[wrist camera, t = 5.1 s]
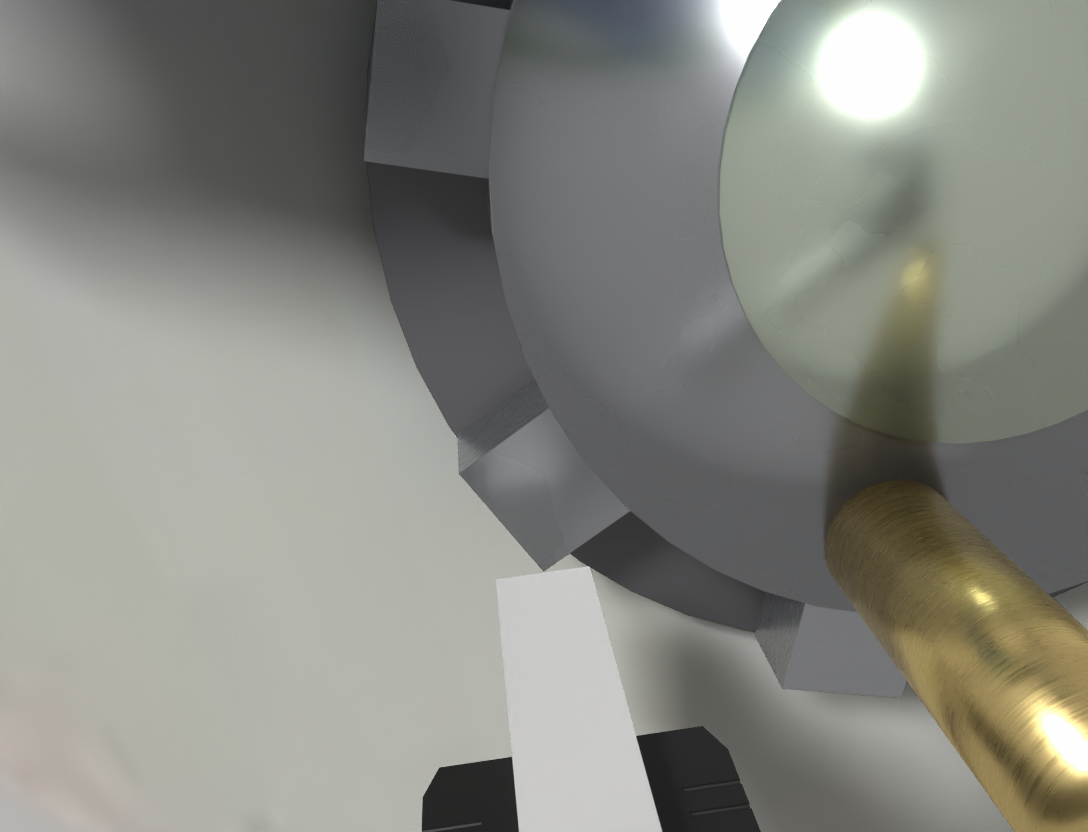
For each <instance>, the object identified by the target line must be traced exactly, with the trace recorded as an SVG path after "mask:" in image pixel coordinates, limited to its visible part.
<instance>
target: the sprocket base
mask: <svg viewBox="0 0 1088 832" xmlns="http://www.w3.org/2000/svg"><path fill="white" fill-rule="evenodd" d="M451 1H457V2H463V3H469V4H475V5H481V6H488V7H494V8H500V9H506V7H507V4H508V1H509V0H451ZM375 24H376V19H375ZM374 35H375V25H374V32H373V38H372V45H371V52H370V58H369V65H368V76H367V114H368V103H369V91H370V80H371V69H372V57H373V46H374ZM366 125H367V118H366ZM367 169H368V178H369V188H370V197H371V207H372V216H373V226H374V232H375V236H376V240H377V244H378V248H379V253H380V257H381V261H382V265H383V269H384V273H385V278H386V282H387V286H388V290H389V294H390V299H391V302H392V305H393V307H394V310H395V312H396V315H397V318H398V320H399V323H400V325H401V328H402V331H403V333H404V336H405V338H406V341H407V344H408V346H409V349H410V351H411V354H412V357H413V359H414V362H415V364H416V367H417V369H418V371H419V372H420V374H421V376H422V378H423V380H424V381H425V383H426V385H427V387H428V389H429V391H430V392H431V394H432V396H433V398H434V400H435V402H436V403H437V405H438V407H439V409H440V411H441V412H442V414H443V416H444V418H445V420H446V422H447V423H448V425H449V427H450V428H451V430H452V431H453V432H454V434H455V435H456V436H457V438H458V434H459V433H460V432H462V431H463V430H464V429H466V428H467V427H468V426H470V425H471V424H473V423H474V422H475V421H477V420H478V419H479V418H481V417H482V416H483V415H485V414H486V413H488V412H489V411H490V410H492V409H493V408H494V407H496V406H497V405H498V404H500V403H501V402H503V401H504V400H505V399H507V398H508V397H509V396H511V395H512V394H513V393H515V392H516V391H518V390H519V389H520V388H522V387H523V386H524V385H526V384H527V383H528V382H530V381H531V380H533V379H534V376H533V374H532V372H531V370H530V368H529V366H528V364H527V362H526V359H525V356H524V353H523V350H522V347H521V344H520V341H519V338H518V335H517V333H516V330H515V327H514V324H513V321H512V318H511V315H510V312H509V309H508V306H507V303H506V299H505V294H504V290H503V286H502V282H501V277H500V272H499V267H498V262H497V257H496V252H495V247H494V242H493V237H492V232H491V227H490V222H489V216H488V201H487V186H486V178H480V177H473V176H466V175H459V174H452V173H445V172H438V171H431V170H424V169H416V168H409V167H402V166H395V165H388V164H381V163H374V162H367ZM570 554H571V555H573V556H574V557H575V558H577V559H578V560H579V561H580V562H582V563H584V564H586V565H587V566H590V567H591V568H592V569H594V570H596V571H598V572H599V573H601V574H603V575H604V576H606V577H608V578H610V579H611V580H613V581H615V582H616V583H618V584H620V585H622V586H623V587H625V588H627V589H628V590H630V591H632V592H634V593H637V594H639V595H641V596H644V597H646V598H648V599H651V600H653V601H656V602H658V603H660V604H663V605H665V606H668V607H670V608H672V609H675V610H677V611H680V612H682V613H684V614H687V615H690V616H694V617H698V618H701V619H705V620H708V621H712V622H716V623H719V624H723V625H727V626H730V627H734V628H738V629H741V630H746V631H753V632H756V631H757V627H758V623H759V619H760V615H761V611H762V608H763V604H764V600H765V596H766V592H764V591H762V590H759V589H757V588H755V587H753V586H750V585H748V584H746V583H743V582H741V581H739V580H736V579H734V578H732V577H730V576H727V575H725V574H723V573H720V572H718V571H716V570H714V569H712V568H711V567H709V566H707V565H706V564H704V563H702V562H701V561H699V560H697V559H696V558H694V557H692V556H691V555H689V554H687V553H686V552H684V551H683V550H681V549H679V548H678V547H676V546H674V545H673V544H671V543H669V542H668V541H667V540H665V539H664V538H663V537H662V536H661V535H659V534H658V533H657V532H656V531H654V530H653V529H652V528H651V527H650V526H648V525H647V524H646V523H645V522H643V521H642V520H641V519H640V518H639V517H637V516H636V515H635V514H634V513H632V512H631V511H629V512H628V513H627V514H625V515H624V516H622V517H621V518H619V519H618V520H617V521H615V522H614V523H612V524H611V525H609V526H608V527H607V528H605V529H604V530H602V531H601V532H599V533H598V534H597V535H595V536H594V537H592V538H591V539H589V540H588V541H586V542H585V543H584V544H582V545H581V546H579V547H578V548H576V549H575V550H574V551H572V552H571V553H570ZM1087 582H1088V581H1087ZM1084 583H1086V582H1084ZM1084 583H1081V584H1078V585H1075V586H1072V587H1069V588H1066V589H1062V590H1059V591H1056V592H1053V593H1050V594H1049V595H1050V596H1051V597H1055V596H1057V595H1059V594H1061V593H1064V592H1066V591H1068V590H1070V589H1073V588H1075V587H1077V586H1079V585H1082V584H1084Z"/></svg>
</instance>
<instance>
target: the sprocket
mask: <svg viewBox="0 0 1088 832" xmlns="http://www.w3.org/2000/svg"><path fill="white" fill-rule="evenodd" d="M363 161H367V162H374V163H381V164H388V165H395V166H402V167H409V168H416V169H424V170H431V171H438V172H445V173H452V174H459V175H466V176H473V177H480V178H486V186H487V201H488V216H489V222H490V227H491V232H492V237H493V242H494V247H495V252H496V257H497V262H498V267H499V272H500V277H501V282H502V286H503V290H504V294H505V299H506V303H507V306H508V309H509V312H510V315H511V318H512V321H513V324H514V327H515V330H516V333H517V335H518V338H519V341H520V344H521V347H522V350H523V353H524V356H525V359H526V362H527V364H528V366H529V368H530V370H531V372H532V374H533V376H534V379H533V380H531V381H530V382H528V383H527V384H526V385H524V386H523V387H522V388H520V389H519V390H518V391H516V392H515V393H513V394H512V395H511V396H509V397H508V398H507V399H505V400H504V401H503V402H501V403H500V404H498V405H497V406H496V407H494V408H493V409H492V410H490V411H489V412H488V413H486V414H485V415H483V416H482V417H481V418H479V419H478V420H477V421H475V422H474V423H473V424H471V425H470V426H468V427H467V428H466V429H464V430H463V431H462V432H460V433H459V434H458V460H459V474H460V475H461V476H462V478H463V479H464V480H465V481H466V482H467V483H468V485H469V486H470V487H471V488H472V489H473V490H474V492H475V493H476V494H477V495H478V496H479V497H480V498H481V500H482V501H483V502H484V503H485V504H486V505H487V507H488V508H489V509H490V510H491V511H492V512H493V514H494V515H495V516H496V517H497V518H498V519H499V521H500V522H501V523H502V524H503V525H504V526H505V527H506V529H507V530H508V531H509V532H510V533H511V534H512V536H513V537H514V538H515V539H516V540H517V541H518V543H519V544H520V545H521V546H522V547H523V548H524V549H525V551H526V552H527V553H528V554H529V555H530V556H531V558H532V559H533V560H534V561H535V562H536V563H537V565H538V566H539V567H540V568H541V569H542V570H543V571H545V570H546V569H548V568H549V567H551V566H552V565H554V564H555V563H556V562H558V561H559V560H561V559H562V558H564V557H565V556H566V555H568V554H569V553H571V552H572V551H574V550H575V549H576V548H578V547H579V546H581V545H582V544H584V543H585V542H586V541H588V540H589V539H591V538H592V537H594V536H595V535H597V534H598V533H599V532H601V531H602V530H604V529H605V528H607V527H608V526H609V525H611V524H612V523H614V522H615V521H617V520H618V519H619V518H621V517H622V516H624V515H625V514H627V513H628V512H629V511H631V512H632V513H634V514H635V515H636V516H637V517H639V518H640V519H641V520H642V521H643V522H645V523H646V524H647V525H648V526H650V527H651V528H652V529H653V530H654V531H656V532H657V533H658V534H659V535H661V536H662V537H663V538H664V539H665V540H667V541H668V542H669V543H671V544H673V545H674V546H676V547H678V548H679V549H681V550H683V551H684V552H686V553H687V554H689V555H691V556H692V557H694V558H696V559H697V560H699V561H701V562H702V563H704V564H706V565H707V566H709V567H711V568H712V569H714V570H716V571H718V572H720V573H723V574H725V575H727V576H730V577H732V578H734V579H736V580H739V581H741V582H743V583H746V584H748V585H750V586H753V587H755V588H757V589H759V590H762V591H764V592H766V596H765V600H764V604H763V608H762V611H761V615H760V619H759V623H758V627H757V631H756V635H755V637H756V639H757V641H758V643H759V645H760V647H761V649H762V651H763V652H764V654H765V656H766V658H767V660H768V662H769V664H770V666H771V668H772V670H773V672H774V674H775V676H776V678H777V679H778V681H779V683H780V685H781V687H782V689H791V690H805V691H818V692H831V693H844V694H857V695H871V696H884V697H897V698H902V695H903V692H904V689H905V685H906V682H908V683H909V685H910V686H911V688H912V689H913V690H914V692H915V693H916V695H917V696H918V697H919V699H920V700H921V701H922V703H923V704H924V706H925V707H926V708H927V710H928V711H929V713H930V714H931V715H932V717H933V718H934V720H935V721H936V722H937V724H938V725H939V727H940V728H941V729H942V731H943V732H944V734H945V735H946V736H947V738H948V739H949V740H950V742H951V743H952V745H953V746H954V747H955V749H956V750H957V752H958V753H959V754H960V756H961V757H962V759H963V760H964V761H965V763H966V764H967V766H968V767H969V768H970V770H971V771H972V773H973V774H974V775H975V777H976V778H977V779H978V781H979V782H980V784H981V785H982V786H983V788H984V789H985V791H986V792H987V793H988V795H989V796H990V798H991V799H992V800H993V802H994V803H995V805H996V806H997V807H998V809H999V810H1000V812H1001V813H1002V814H1003V816H1004V817H1005V818H1006V820H1007V821H1008V823H1009V824H1010V825H1011V827H1012V828H1013V830H1014V831H1015V832H1088V630H1087V629H1086V628H1085V627H1084V626H1082V625H1081V624H1080V623H1079V622H1078V621H1077V620H1076V619H1075V618H1074V617H1073V616H1072V615H1071V614H1069V613H1068V612H1067V611H1066V610H1065V609H1064V608H1063V607H1062V606H1061V605H1060V604H1059V603H1058V602H1056V601H1055V600H1054V599H1053V598H1052V597H1051V596H1050V595H1049V594H1050V593H1053V592H1056V591H1059V590H1062V589H1066V588H1069V587H1072V586H1075V585H1078V584H1081V583H1084V582H1087V581H1088V0H509V1H508V4H507V7H506V9H500V8H494V7H488V6H481V5H475V4H469V3H463V2H457V1H451V0H378V1H377V12H376V24H375V35H374V46H373V57H372V69H371V80H370V91H369V103H368V114H367V125H366V136H365V148H364V159H363Z"/></svg>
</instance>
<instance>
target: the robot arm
mask: <svg viewBox="0 0 1088 832" xmlns="http://www.w3.org/2000/svg"><path fill="white" fill-rule="evenodd" d="M496 589H497V600H498V611H499V622H500V632H501V643H502V654H503V665H504V675H505V686H506V697H507V708H508V718H509V729H510V740H511V751H512V757H508V758H502V759H495V760H488V761H481V762H475V763H468V764H461V765H454V766H447V767H441V768H439V769H438V771H437V773H436V775H435V776H434V778H433V780H432V782H431V784H430V785H429V787H428V789H427V791H426V793H425V794H424V796H423V809H422V832H761V831H760V829H759V826H758V824H757V821H756V819H755V816H754V814H753V811H752V809H750V806H749V801H748V799H747V796H746V794H745V791H744V789H743V786H742V784H740V779H739V776H738V774H737V771H736V769H735V766H734V763H733V761H732V758H731V756H730V753H729V751H728V749H727V748H726V747H725V746H724V745H722V744H721V743H720V742H719V741H718V740H717V739H716V738H715V737H714V736H713V735H712V734H710V733H709V732H708V731H707V730H706V729H705V728H704V727H703V726H701V727H694V728H687V729H681V730H674V731H667V732H660V733H654V734H647V735H640V736H636V734H635V731H634V727H633V723H632V720H631V716H630V712H629V709H628V705H627V701H626V698H625V694H624V690H623V687H622V683H621V679H620V676H619V672H618V668H617V665H616V661H615V657H614V654H613V650H612V647H611V643H610V639H609V636H608V632H607V628H606V625H605V621H604V617H603V614H602V610H601V606H600V603H599V599H598V595H597V592H596V588H595V584H594V581H593V577H592V573H591V570H590V566H588V567H581V568H574V569H567V570H559V571H552V572H545V573H538V574H531V575H523V576H516V577H509V578H502V579H496Z"/></svg>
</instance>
